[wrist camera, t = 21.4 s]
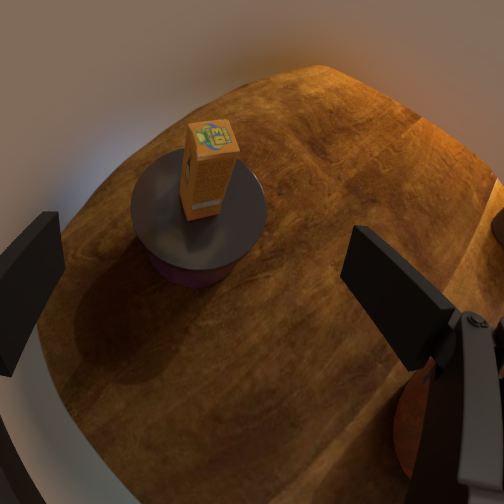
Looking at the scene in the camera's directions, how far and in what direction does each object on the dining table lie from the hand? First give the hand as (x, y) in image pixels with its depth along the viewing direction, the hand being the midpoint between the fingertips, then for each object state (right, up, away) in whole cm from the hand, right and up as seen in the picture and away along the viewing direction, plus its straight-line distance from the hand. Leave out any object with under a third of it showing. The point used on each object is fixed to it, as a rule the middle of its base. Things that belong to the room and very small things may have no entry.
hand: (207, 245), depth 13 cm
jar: (-5, +1, +26) cm, 26 cm away
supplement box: (-3, +4, +17) cm, 17 cm away
